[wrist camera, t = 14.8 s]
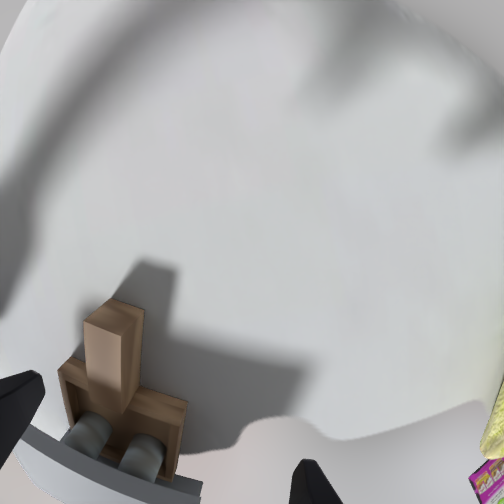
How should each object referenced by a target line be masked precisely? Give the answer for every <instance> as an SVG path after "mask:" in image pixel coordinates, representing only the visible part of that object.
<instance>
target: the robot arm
mask: <svg viewBox="0 0 504 504" xmlns="http://www.w3.org/2000/svg"><path fill="white" fill-rule="evenodd" d="M44 396H45V387H44V383H43V379H42V376H41V375H40V374H39V373H37V372H36V371H34V370H29V371H25V372H22V373H19V374H16V375H13V376H9V377H6V378H3V379H0V469H1V468H2V466H3V465H4V463H5V461H6V460H7V458H8V457H9V455H10V453H11V452H12V450H13V449H14V447H15V446H16V444H17V443H18V441H19V440H20V438H21V437H22V435H23V434H24V432H25V431H26V429H27V427H28V426H29V424H30V422H31V420H32V419H33V417H34V415H35V413H36V411H37V409H38V407H39V405H40V403H41V402H42V400H43V398H44ZM289 504H343V502H342V501H341V499H340V498H339V496H338V495H337V493H336V492H335V490H334V489H333V487H332V486H331V484H330V482H329V481H328V479H327V478H326V476H325V475H324V473H323V471H322V470H321V468H320V467H319V465H318V464H317V462H316V461H315V460H312V459H302V460H301V461H300V463H299V464H298V466H297V467H296V469H295V471H294V472H293V476H292V483H291V491H290V498H289Z"/></svg>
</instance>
